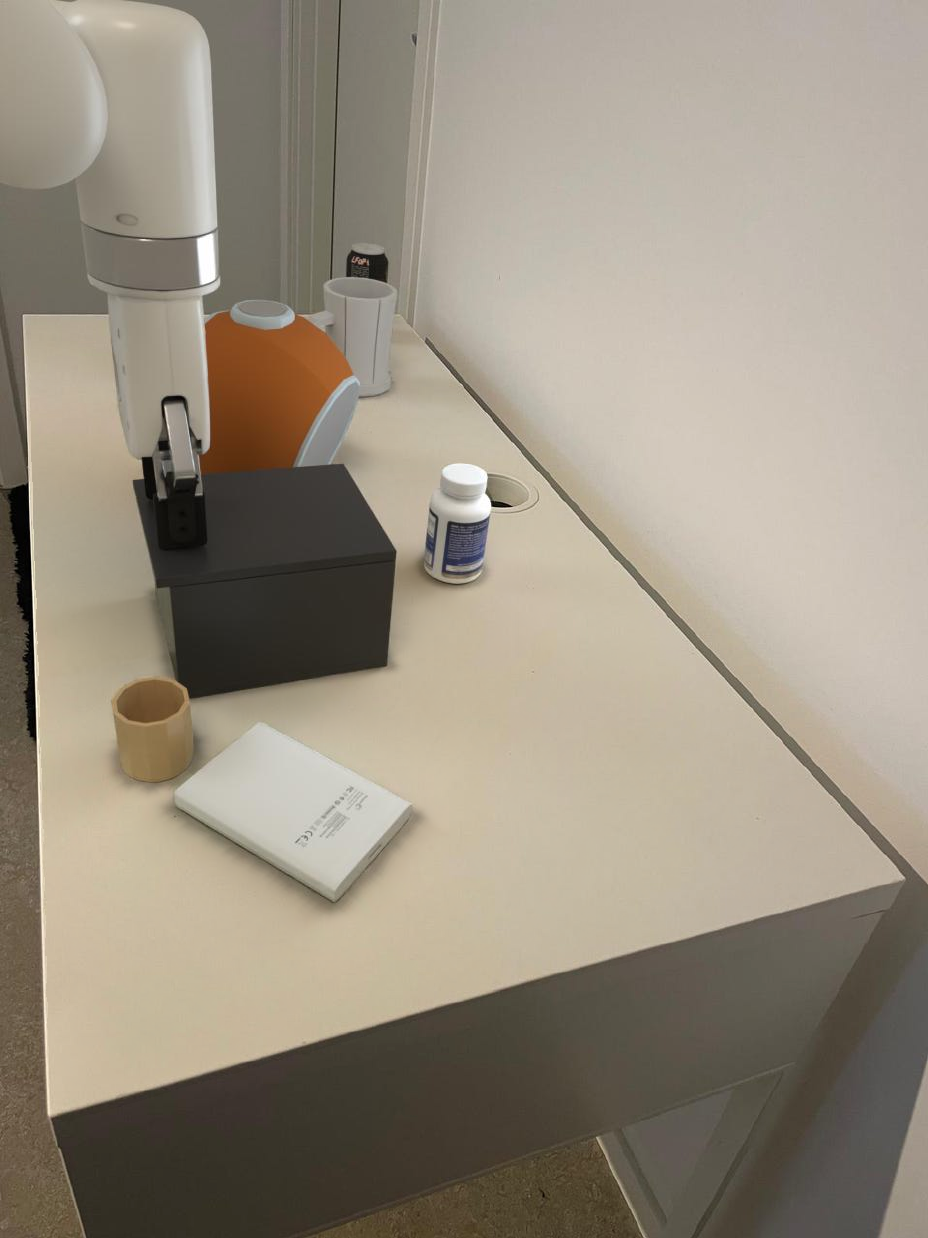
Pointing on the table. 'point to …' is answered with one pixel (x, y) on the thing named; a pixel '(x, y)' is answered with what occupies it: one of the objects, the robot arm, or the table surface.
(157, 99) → the robot arm
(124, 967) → the table surface
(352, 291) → the cup
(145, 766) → the wooden cup
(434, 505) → the pill bottle
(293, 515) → the lid
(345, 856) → the hard drive
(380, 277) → the beverage can
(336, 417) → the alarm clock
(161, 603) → the open storage box
